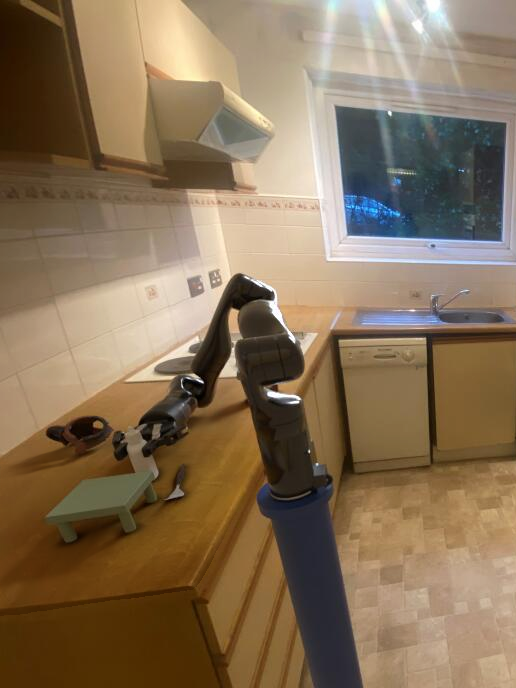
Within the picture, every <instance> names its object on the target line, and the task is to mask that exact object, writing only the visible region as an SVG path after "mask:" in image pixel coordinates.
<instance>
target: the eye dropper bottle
mask: <svg viewBox="0 0 516 688" xmlns="http://www.w3.org/2000/svg"><path fill="white" fill-rule="evenodd" d="M134 428H135V427H134V426H132V425H129V426H127V431H126V432H127V433H126V432H124V433H125V437H126V440H127V443H128V445H127V452H128V455H127V456H128V458H129V459H130V463H131V465H132V467H133V470H134V473H139V472H147V471H153V473H154V476H155V478H154V479H153V481H155V480H156V479H157V478H158V476H159V470H158V467H157V463H156V462H155V458H154V455H153V454H152V455H151V456H150V457H146V458H144V456H143V453H142V450H141V449H142V447H143V446H144V445H145V444H146V443H147V441H145V440H143V438H142V436H141V433H140V431H139V430H134Z"/></svg>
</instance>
